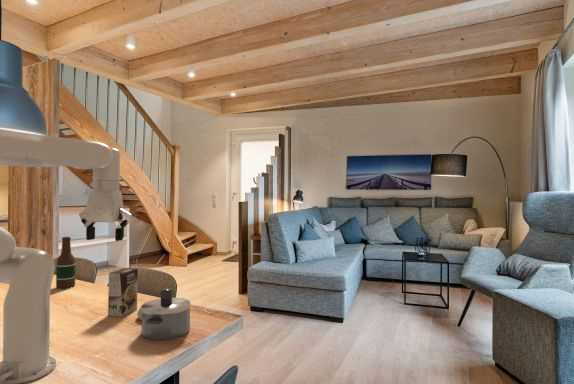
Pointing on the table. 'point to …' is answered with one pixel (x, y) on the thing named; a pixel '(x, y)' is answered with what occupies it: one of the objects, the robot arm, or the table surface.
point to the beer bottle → (65, 266)
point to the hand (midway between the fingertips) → (104, 240)
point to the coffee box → (122, 292)
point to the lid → (165, 304)
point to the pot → (165, 326)
